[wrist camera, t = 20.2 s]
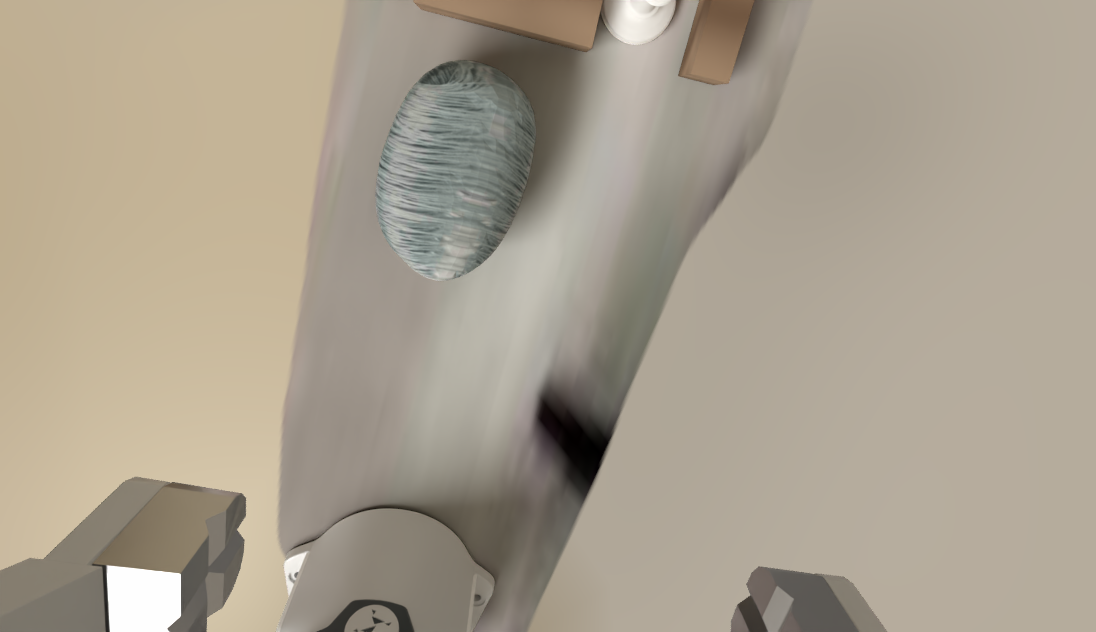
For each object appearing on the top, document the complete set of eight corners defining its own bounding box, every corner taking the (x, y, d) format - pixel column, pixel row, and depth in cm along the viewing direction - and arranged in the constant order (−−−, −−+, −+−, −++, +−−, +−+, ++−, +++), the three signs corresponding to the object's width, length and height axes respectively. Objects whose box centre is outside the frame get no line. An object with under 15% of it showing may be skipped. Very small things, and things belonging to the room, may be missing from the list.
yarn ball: (403, 9, 33) (445, 77, 27) (536, 68, 39) (597, 137, 32) (339, 201, 40) (360, 292, 34) (460, 229, 46) (497, 311, 39)
